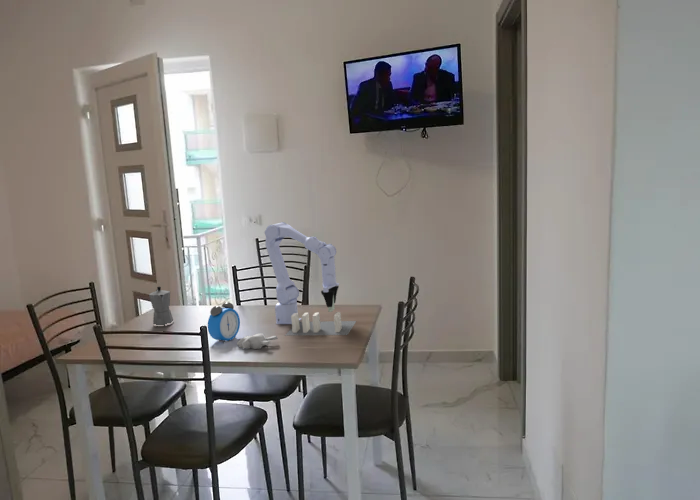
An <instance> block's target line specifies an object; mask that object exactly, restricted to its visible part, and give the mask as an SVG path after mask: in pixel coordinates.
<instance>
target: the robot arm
mask: <svg viewBox="0 0 700 500" xmlns="http://www.w3.org/2000/svg"><path fill="white" fill-rule="evenodd" d="M264 235H265V247H266V248H265V249H266V251H267V255H268V258H269V260H270V263H271V267H272V269H273V272H274V275H275V279H276V281H277V284H276V288H275V290H276V300H277V301H278V302H277V303H276V304H275V310H274V313H275V322H276V323H275V325H292V321H291V316H292V315H293V314H294V313H298V314H299V312H298V302H297V301H298V298H299V296H300V291H299V288H298V287H297V286H296V284H295V281H293V280H291V279H290V276H289V272H288V270H287V269H288V268H287V266H286V264H285V260H284V256H283V253H282V250H281V248H280V245H281V242H282V240H283V239H285V238H291V239H293V240H294V241H296V242H299V243H301V244H303V246H304V248H305V249H306V250H307V251H310V252H312V253H314V254H315V255H317V256H318V258H319V259H320V266H321V276H322V277H321V278H322V289H321V291H320V293H321V295H322V297H323V299H324V301H325V305H326V307H327V308H328V307H332V305H333V295H334V304H336V302H337V294H338V290H339V287H340V286H339V285H340V283H339V282H337V278H336V277H337V275H336V264H335V263H336V262H335V260H336V259H335V256H336V254H337V249H336V246H334V245H333V244H332V243H328V244H327V242H325V241H322V240H319V239H318V237H317V236H313V235H312V236H307V235H306V234H304V233H302V232H300V231H299V230H298V229H296V228H294V227H293V226H292V225H290V224H289V223H286V222H285V221H282V222H278V223H274V224H268V226H267V227H266V229H265V230H264ZM301 321H302V317H299V322H301Z"/></svg>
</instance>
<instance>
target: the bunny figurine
mask: <svg viewBox="0 0 700 500" xmlns="http://www.w3.org/2000/svg"><path fill="white" fill-rule="evenodd" d="M274 340H278V336H277V335H272V336H269V337H266V336H265V334H264V333H255V334H254V335H246V336H245V337H244V336H243V338H241V339H240V340H239V341H237V342H236V344H237V346H238V347H239V348H241V349H243V348H246V349H252V350H260V349H261V348H262V347H264V346H269V345H271V341H274Z"/></svg>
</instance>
